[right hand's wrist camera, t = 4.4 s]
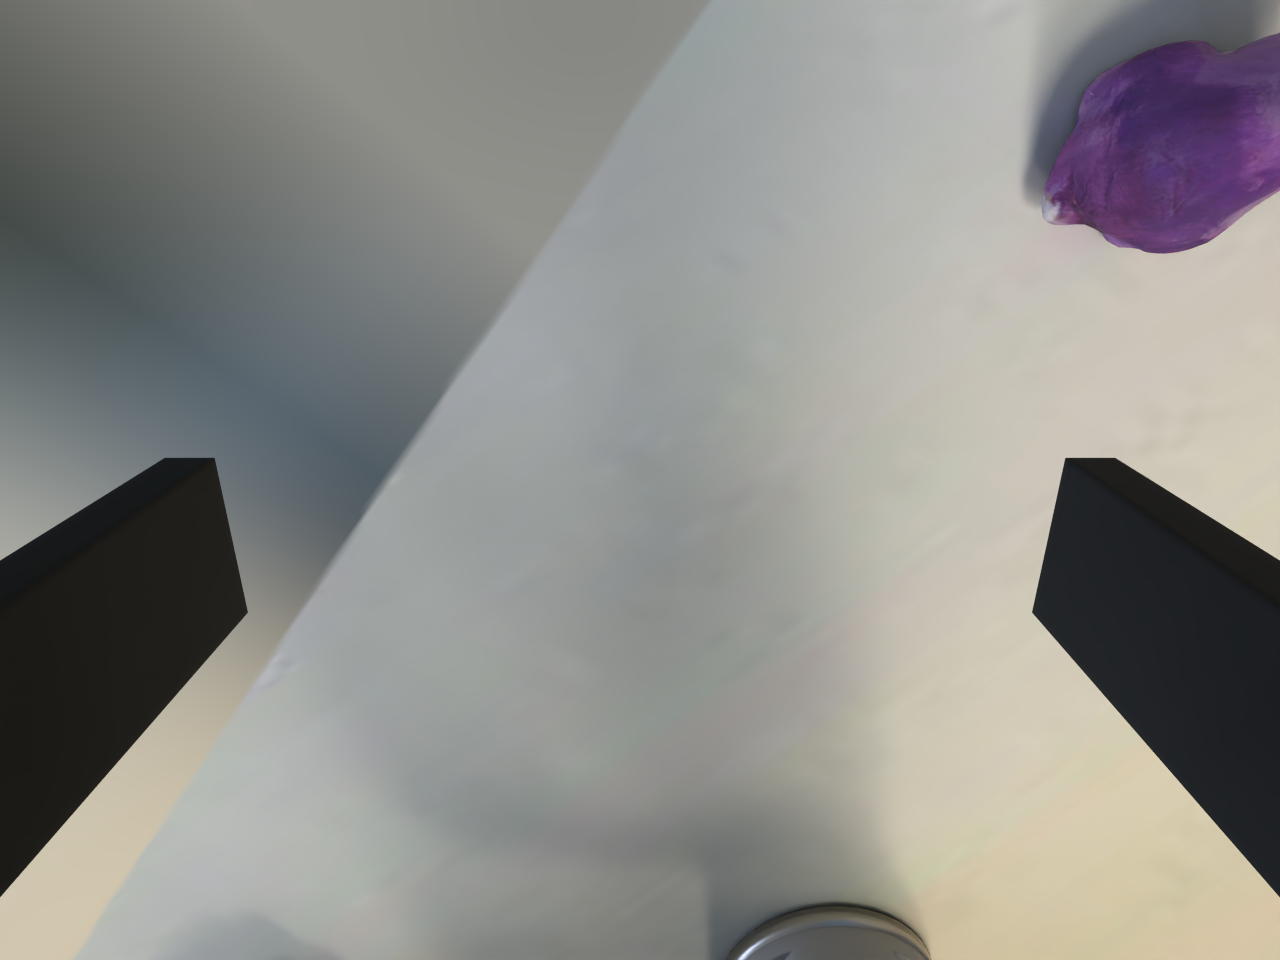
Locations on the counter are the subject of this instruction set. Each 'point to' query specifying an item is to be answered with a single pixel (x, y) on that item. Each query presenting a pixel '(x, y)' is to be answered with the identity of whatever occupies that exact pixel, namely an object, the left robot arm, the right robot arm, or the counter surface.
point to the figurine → (1172, 146)
